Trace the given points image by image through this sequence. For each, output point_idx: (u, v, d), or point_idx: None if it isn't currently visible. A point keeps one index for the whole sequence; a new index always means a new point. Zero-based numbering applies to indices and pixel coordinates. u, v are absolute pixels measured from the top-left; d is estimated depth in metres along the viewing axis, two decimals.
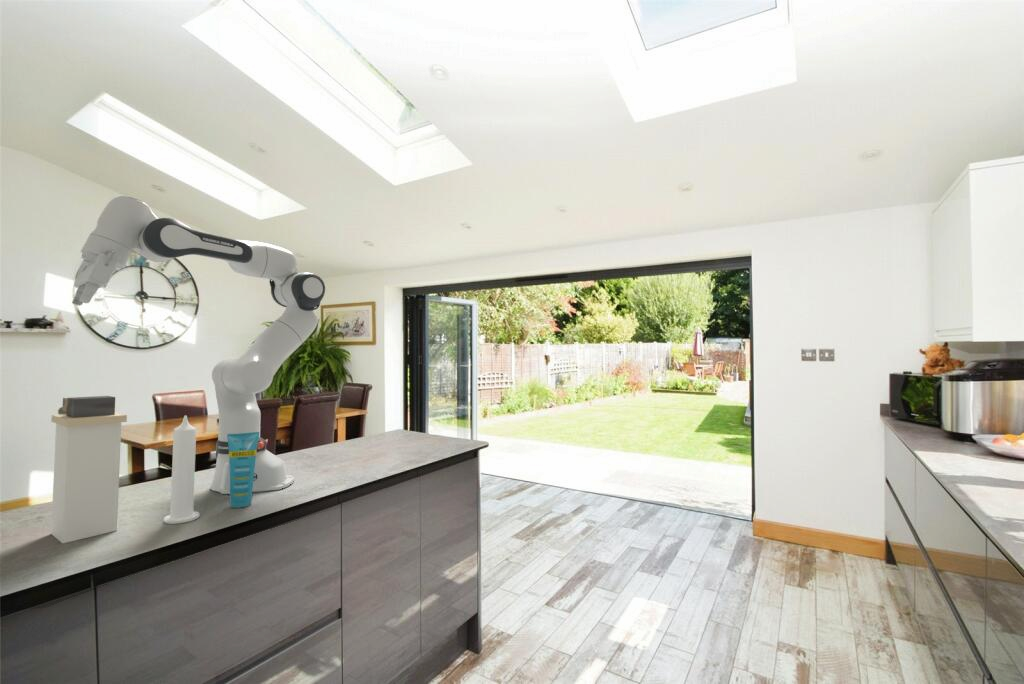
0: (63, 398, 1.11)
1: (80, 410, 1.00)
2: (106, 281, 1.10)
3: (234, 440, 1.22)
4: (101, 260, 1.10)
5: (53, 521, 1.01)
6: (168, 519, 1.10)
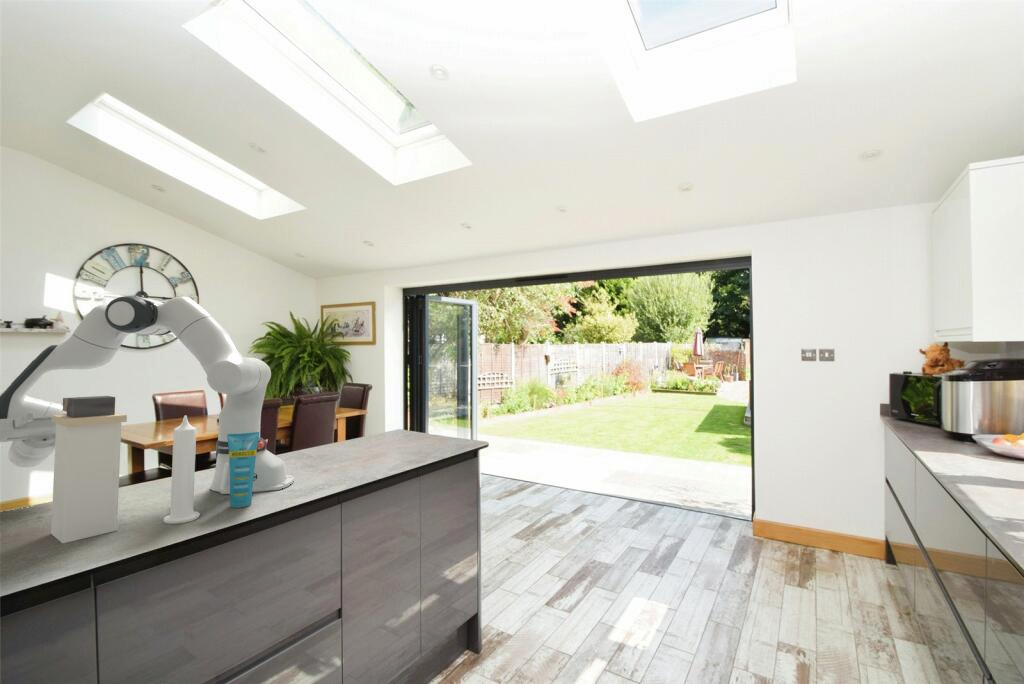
0: (63, 398, 1.11)
1: (80, 410, 1.00)
2: None
3: (234, 440, 1.22)
4: None
5: (53, 521, 1.01)
6: (168, 519, 1.10)
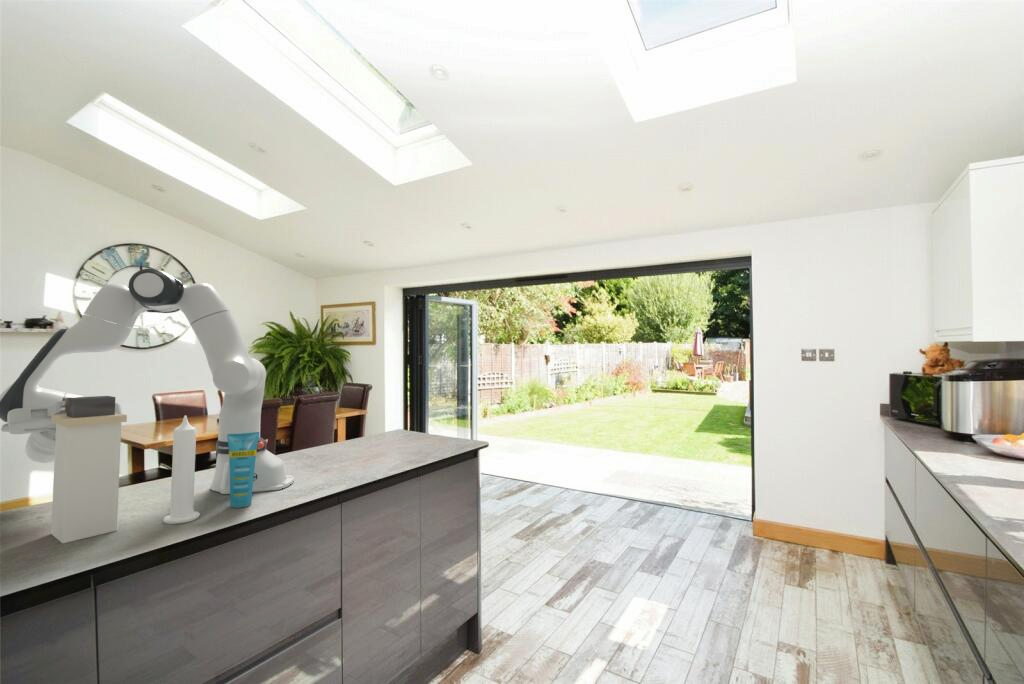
0: (63, 398, 1.11)
1: (80, 410, 1.00)
2: (8, 411, 1.05)
3: (234, 440, 1.22)
4: (8, 430, 1.07)
5: (53, 521, 1.01)
6: (168, 519, 1.10)
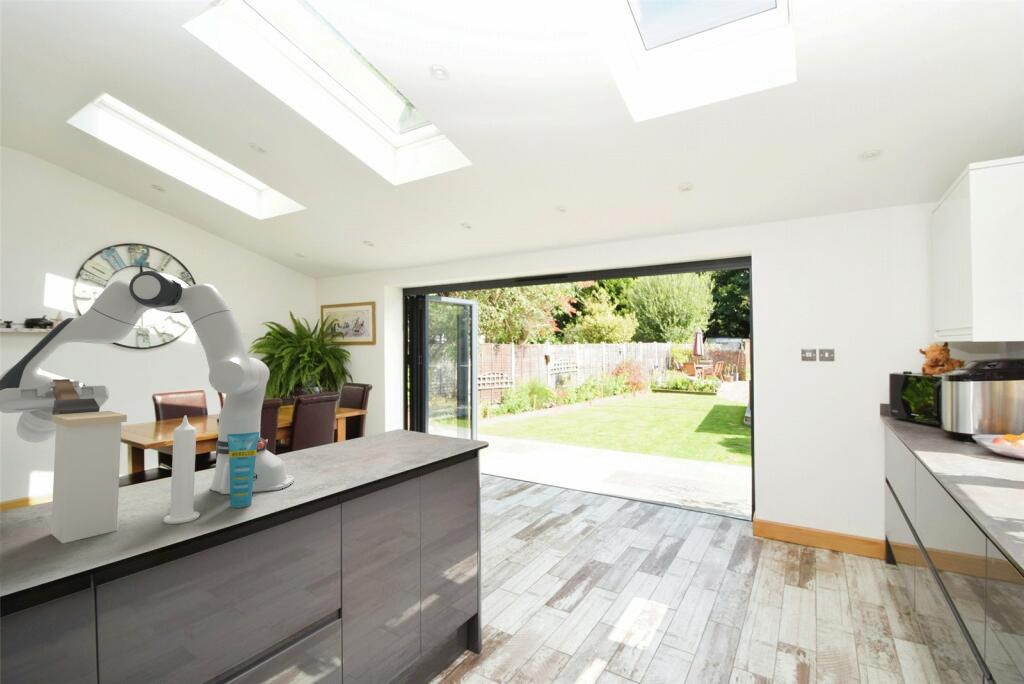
0: (53, 380, 1.16)
1: None
2: (0, 391, 1.11)
3: (234, 440, 1.22)
4: None
5: (53, 521, 1.01)
6: (168, 519, 1.10)
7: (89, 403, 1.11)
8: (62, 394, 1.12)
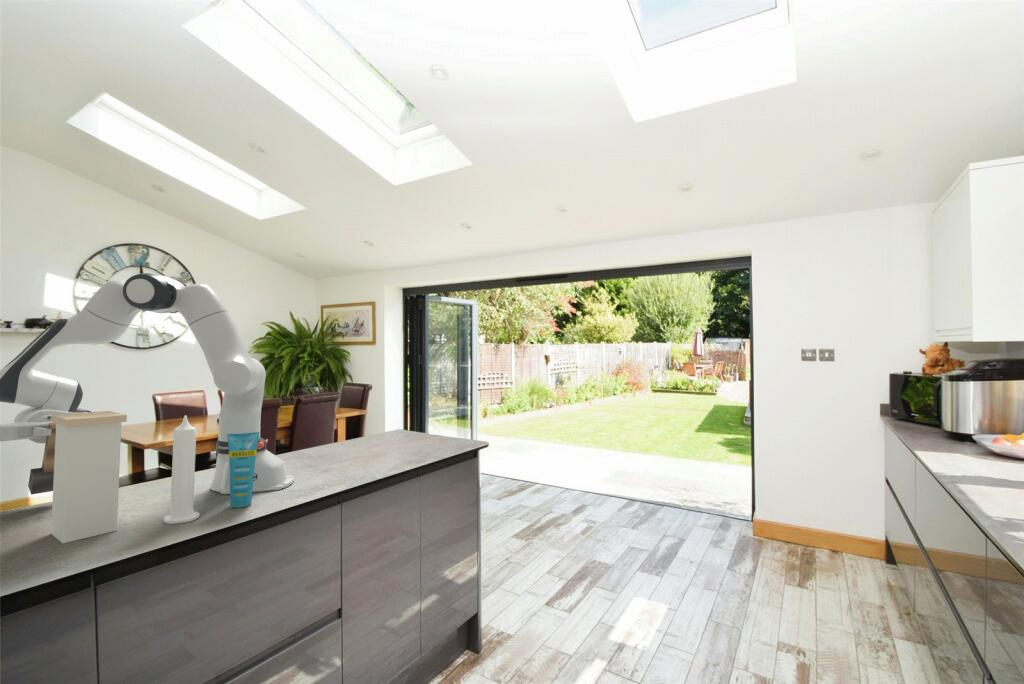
0: None
1: None
2: None
3: (234, 440, 1.22)
4: None
5: (53, 521, 1.01)
6: (168, 519, 1.10)
7: None
8: (48, 457, 1.18)
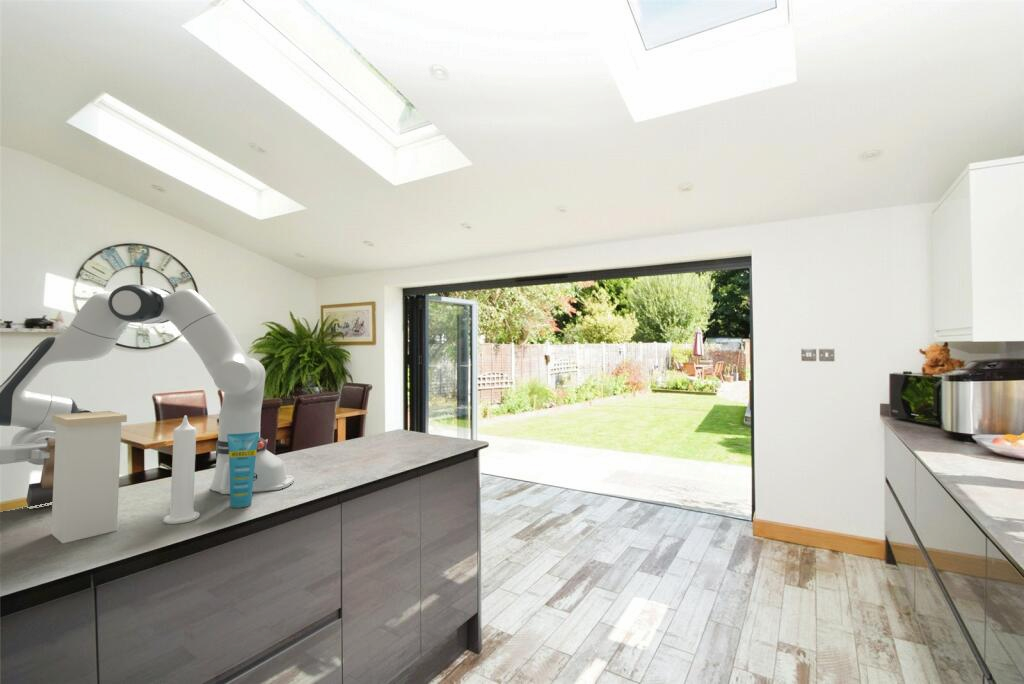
0: (50, 447, 1.15)
1: None
2: None
3: (234, 440, 1.22)
4: None
5: (53, 521, 1.01)
6: (168, 519, 1.10)
7: None
8: (46, 474, 1.17)
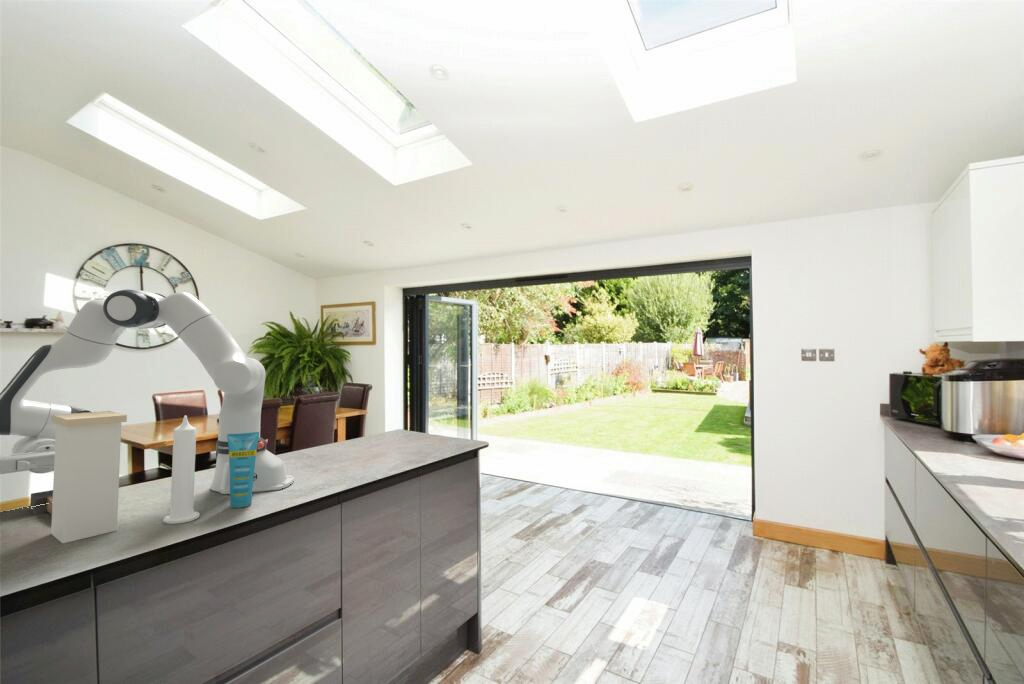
0: None
1: None
2: None
3: (234, 440, 1.22)
4: None
5: (53, 521, 1.01)
6: (168, 519, 1.10)
7: None
8: None
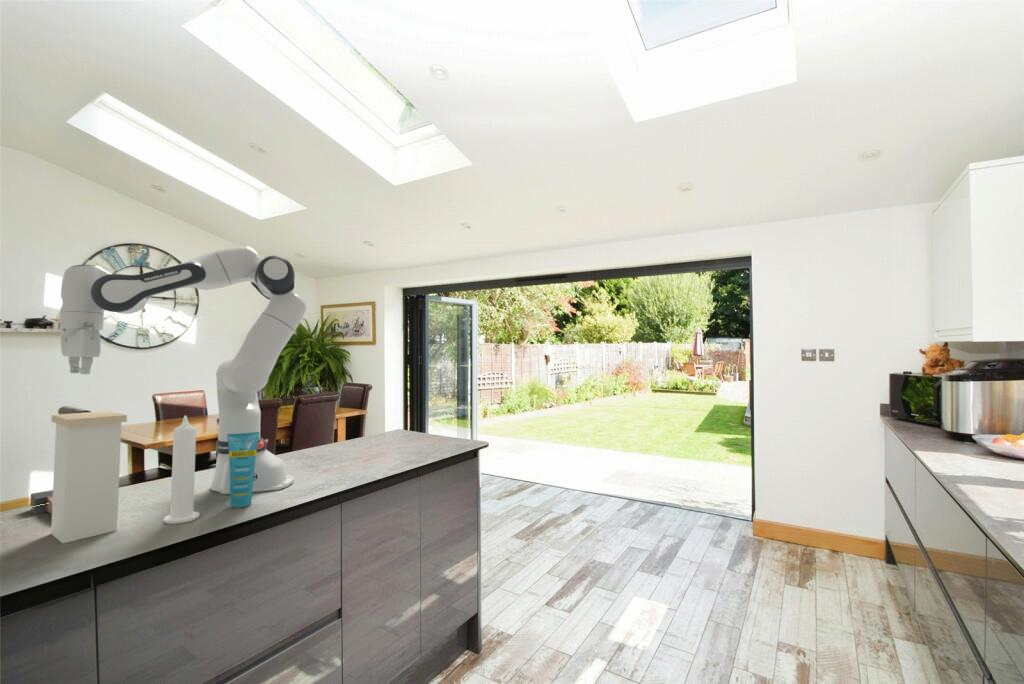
0: None
1: None
2: (98, 353, 1.23)
3: (234, 440, 1.22)
4: (86, 336, 1.21)
5: (53, 521, 1.01)
6: (168, 519, 1.10)
7: None
8: None
